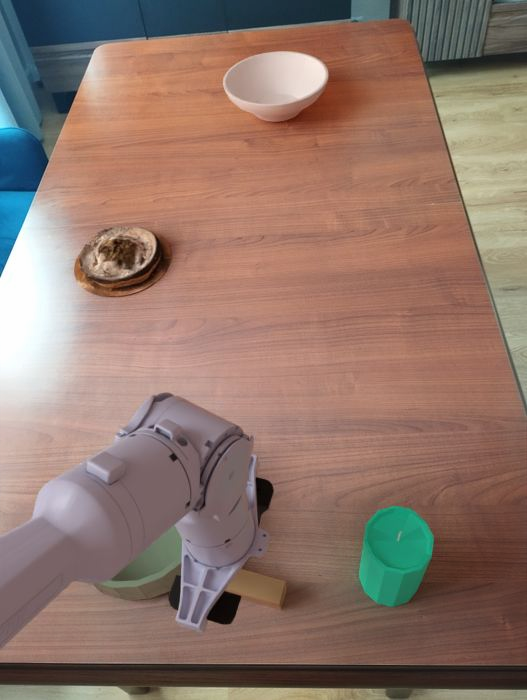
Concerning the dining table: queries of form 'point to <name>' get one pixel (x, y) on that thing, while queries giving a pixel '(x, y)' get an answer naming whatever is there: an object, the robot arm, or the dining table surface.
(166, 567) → the mixing bowl
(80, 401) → the dining table surface
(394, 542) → the candle
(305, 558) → the dining table surface
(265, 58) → the bowl
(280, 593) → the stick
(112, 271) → the brown mottled round dish
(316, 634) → the dining table surface
